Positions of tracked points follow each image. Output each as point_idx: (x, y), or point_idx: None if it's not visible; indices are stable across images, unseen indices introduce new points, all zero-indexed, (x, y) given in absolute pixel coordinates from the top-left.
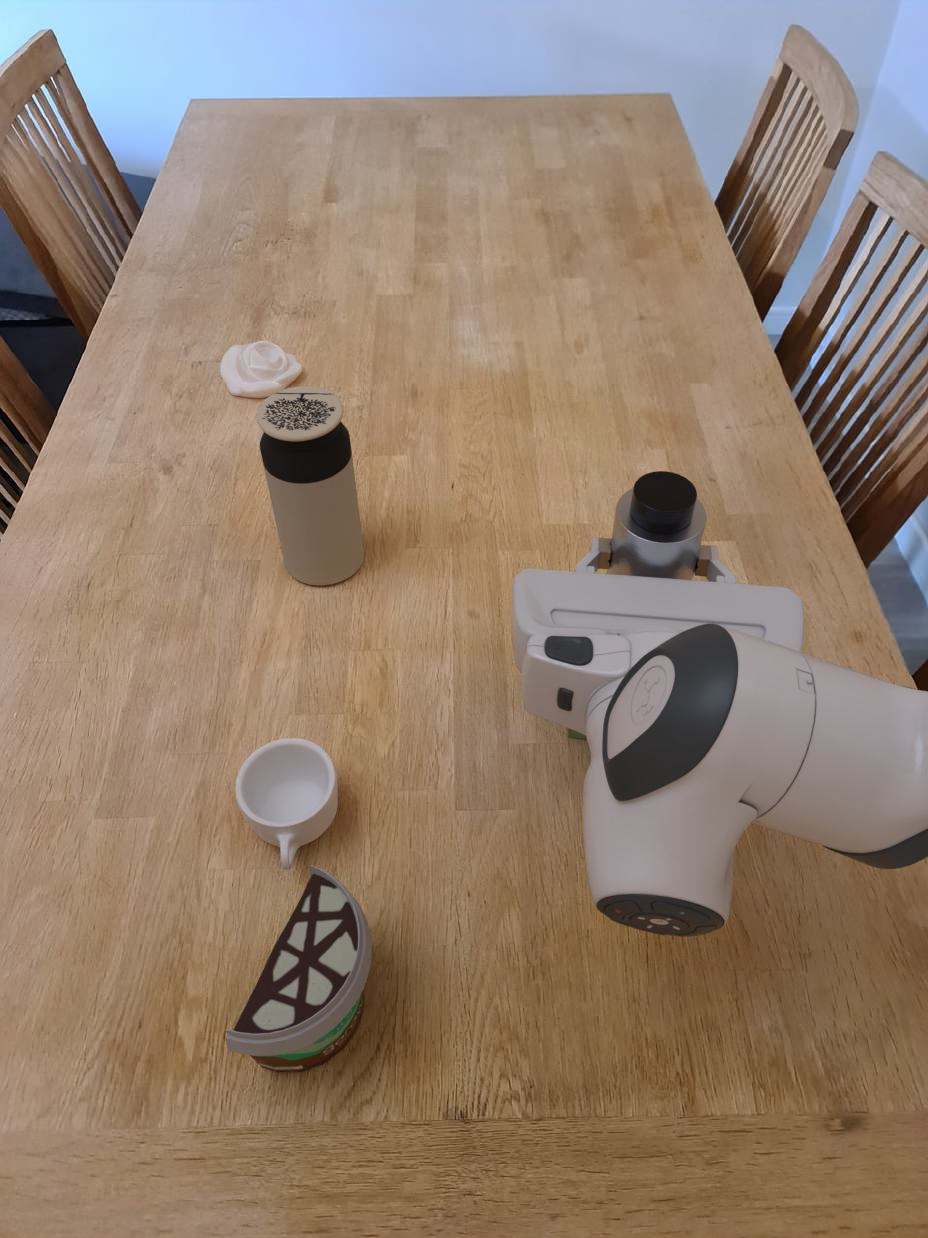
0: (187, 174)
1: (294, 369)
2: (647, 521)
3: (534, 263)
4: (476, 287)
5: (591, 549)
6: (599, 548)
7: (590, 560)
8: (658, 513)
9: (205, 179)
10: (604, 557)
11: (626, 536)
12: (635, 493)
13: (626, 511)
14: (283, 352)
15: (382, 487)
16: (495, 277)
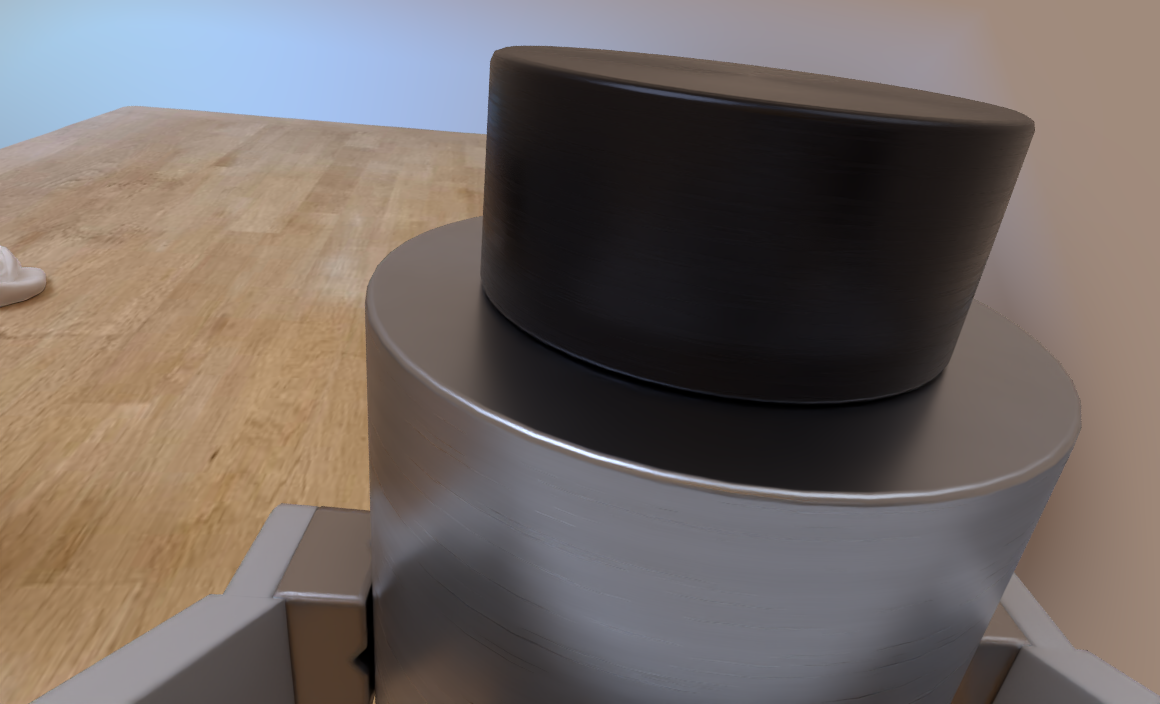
0: (61, 137)
1: (21, 281)
2: (620, 277)
3: (448, 221)
4: (368, 233)
5: (237, 582)
6: (289, 574)
7: (157, 678)
8: (748, 137)
9: (80, 141)
10: (324, 639)
11: (420, 445)
12: (504, 54)
13: (452, 275)
14: (10, 256)
15: (60, 455)
16: (396, 228)
